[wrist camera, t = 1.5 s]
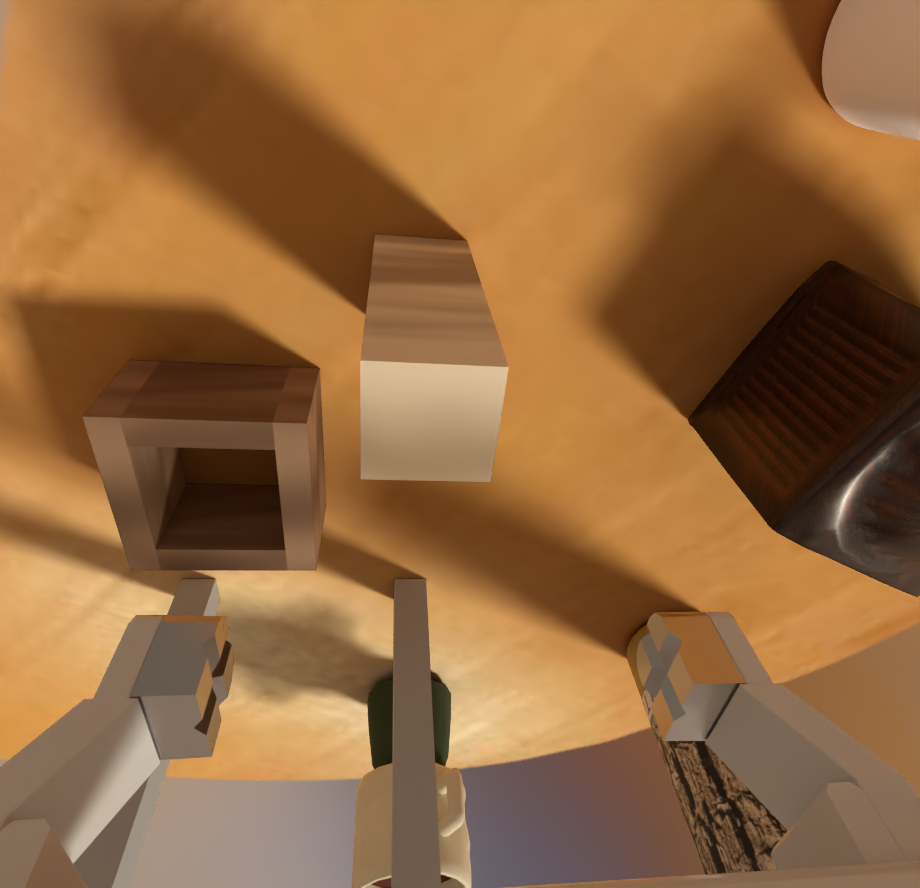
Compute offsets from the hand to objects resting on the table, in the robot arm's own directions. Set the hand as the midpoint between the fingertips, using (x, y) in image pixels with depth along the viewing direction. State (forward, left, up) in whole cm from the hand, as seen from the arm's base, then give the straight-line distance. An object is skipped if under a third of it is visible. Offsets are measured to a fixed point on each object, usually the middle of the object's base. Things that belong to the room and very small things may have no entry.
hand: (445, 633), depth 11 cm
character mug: (+32, +1, -19) cm, 37 cm away
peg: (0, 0, -19) cm, 19 cm away
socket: (+9, -9, -19) cm, 23 cm away
